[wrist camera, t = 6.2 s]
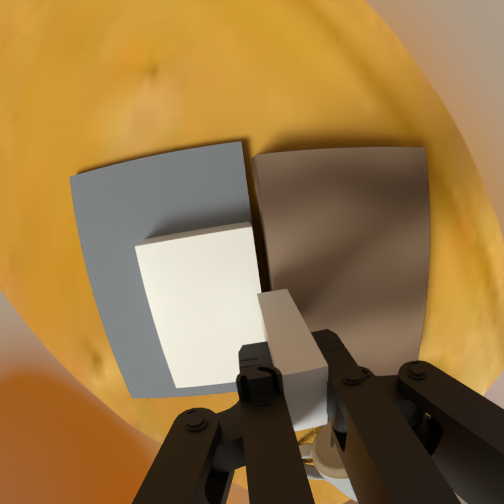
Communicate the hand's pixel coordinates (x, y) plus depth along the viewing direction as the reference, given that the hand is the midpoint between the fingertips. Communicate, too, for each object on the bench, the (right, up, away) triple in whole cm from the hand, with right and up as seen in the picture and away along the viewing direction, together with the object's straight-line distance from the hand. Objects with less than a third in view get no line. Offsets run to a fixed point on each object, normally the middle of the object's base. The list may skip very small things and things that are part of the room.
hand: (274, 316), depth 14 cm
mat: (-6, +1, +3) cm, 7 cm away
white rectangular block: (-4, 0, +3) cm, 5 cm away
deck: (+5, +1, +4) cm, 6 cm away
